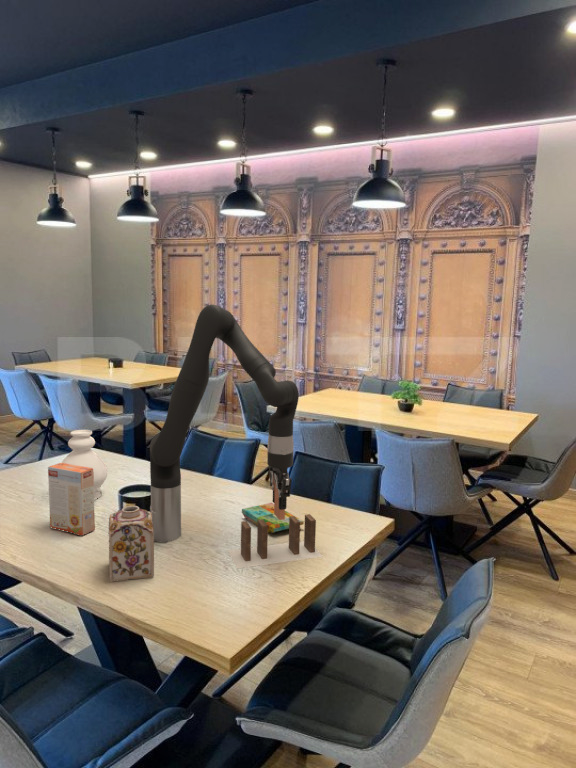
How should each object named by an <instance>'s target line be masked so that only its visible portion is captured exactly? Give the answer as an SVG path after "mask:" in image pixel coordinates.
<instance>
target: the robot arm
mask: <svg viewBox="0 0 576 768" xmlns="http://www.w3.org/2000/svg"><path fill="white" fill-rule="evenodd" d="M216 339H218V340H220V341H221V342H223V343H224V344H225V345H227V347H229V349H231V350H232V352H233V353H234V354H235V357H236V359H237V361H238V362H239V365H240V366H241V368H242V369H243V370H244V371H245V373H247V375H248V376H249V378H250V379H252V380H253V381H254V382H255V384H256V386H257V389H258V391H259V393H260V395H261V397H262V399H263V401H265V402H266V404H267V405H269V406H271V407H274V408H276V410H275V411H274V413H273V414H271V415H270V416H269V419H268V438H267V454H266V455H267V456H266V457H267V459H266V460H267V463H266V464H267V466H268V473H269V486H270V487H271V490H272V503H273V504H274V496H275V491H274V490H275V482H276V488H277V489H278V493H279V509H280V510H283V509H285V510H286V509H287V501H288V499H287V498H290V497H291V491H292V484H293V483H292V482H293V479H292V477H290V476H289V472H288V469H289V468H291V467H292V466H293V465H294V419H295V415H296V411H297V408H298V405H299V396H300V393H299V389H298V386H297V385H296V383H294V382H293V381H291V380H288V379H287V380H280V381H277V380H276V379H275V377H276V374H277V372H276V368H275V367H274V366H273V364H272V363H270V361H269V360H268V359H267V358H266V357H265V356H264V355H263V353H261V351H260V350H259V349H258V348H257V347H256V346H255V345H254V344H253V343H252V342H251V340H250V339H249V338H248V336H247V335H246V333H245V332H244V331H243V329H242V328H241V326H240V325H239V323H238V321H237V320H236V318H235V317H234V315H233V314H232V313H231V312H230V311H229V310H227V309H225V308H223V307H221V306H218V305H216V304H212V303H211V304H208V305H206V306H204V307H203V308H202V309H201V311H200V312H199V314H198V316H197V318H196V322H195V326H194V330H193V333H192V337H191V340H190V344H189V346H188V350H187V352H186V355H185V358H184V360H183V363H182V365H181V369H180V371H179V372H178V375H177V378H176V381H175V383H174V385H173V389H172V392H171V395H170V398H169V399H170V400H169V405H168V410H167V414H166V418H165V421H164V423H163V426H162V428H161V429H160V431H159V433H156V435H154V436H153V438H152V439H151V441H150V445H149V462H150V463H149V466H150V467H149V468H150V469H149V470H150V471H149V472H150V475H149V476H150V506H149V512H151V514H152V520H153V521H152V522H153V529H154V542H158V543H169V542H172V541H175V540H178V539H180V538H181V537H182V473H181V472H182V471H181V455H182V453H183V452H182V451H183V449H184V445H185V441H186V437H187V434H188V431H189V428H190V425H191V422H193V419H194V417H195V415H196V412H198V411H197V410H198V409H199V406H200V404H201V401H202V399H203V396H204V394H205V392H206V389H207V387H208V383H209V381H210V354H211V350H212V348H213V345H214V342H215V340H216ZM279 485H282V486H279ZM284 491H285V493H284Z"/></svg>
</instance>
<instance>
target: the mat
mask: <svg viewBox="0 0 576 768" xmlns="http://www.w3.org/2000/svg"><path fill="white" fill-rule="evenodd" d="M227 552H228V554H229V556H230V557H231V560H232V561H233V563H234V565H235V567H236V569H245V568H251V567H252V568H253V567H256V566H257V567H258V566H265V565H266V566H267V565H272V564H280V563H281V564H282V563H288V562H294V561H301V560H309V559H316V558H323V557H324V555H322V554H321V553H320V551H319V550H318V549H317V548H316V547H315V552H312V553H310V552H309V551H308V550H307V549H306V548H305V546H304V540H301V541H300V547H299V554H297V555H294V554H293V553H292V551H291V550H290V549H289V542H283V543H276V544H275V543H274V544H267V559H261V557H260V556H259V554H258V553H257V546H251V561H245V560H244V559H243V557H242V555H241V548H236V549H227Z"/></svg>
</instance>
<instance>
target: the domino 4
mask: <svg viewBox="0 0 576 768" xmlns="http://www.w3.org/2000/svg"><path fill="white" fill-rule="evenodd" d="M296 517H297V516H295V515H294V516H289V529H288V543H289V549H290V550H291V551H292V553H293V554H294V555H297V554H299V547H300V539H301V538H300V537H301V525H300V521H299V520H298V519H297V518H298V517H297V518H296Z"/></svg>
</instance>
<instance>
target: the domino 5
mask: <svg viewBox="0 0 576 768" xmlns="http://www.w3.org/2000/svg"><path fill="white" fill-rule="evenodd" d="M316 521H317V519H315V518H314V517H313V515H311V514H310V513H309V514H307V513H306V514H304V530H303V532H304V533H303V534H304V535H303V537H304V538H303V541H304V546H305V548H306V549H307V550H308V551H309V552H310V553H312V552H315V548H316V528H317V526H316V525H317V522H316Z"/></svg>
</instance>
